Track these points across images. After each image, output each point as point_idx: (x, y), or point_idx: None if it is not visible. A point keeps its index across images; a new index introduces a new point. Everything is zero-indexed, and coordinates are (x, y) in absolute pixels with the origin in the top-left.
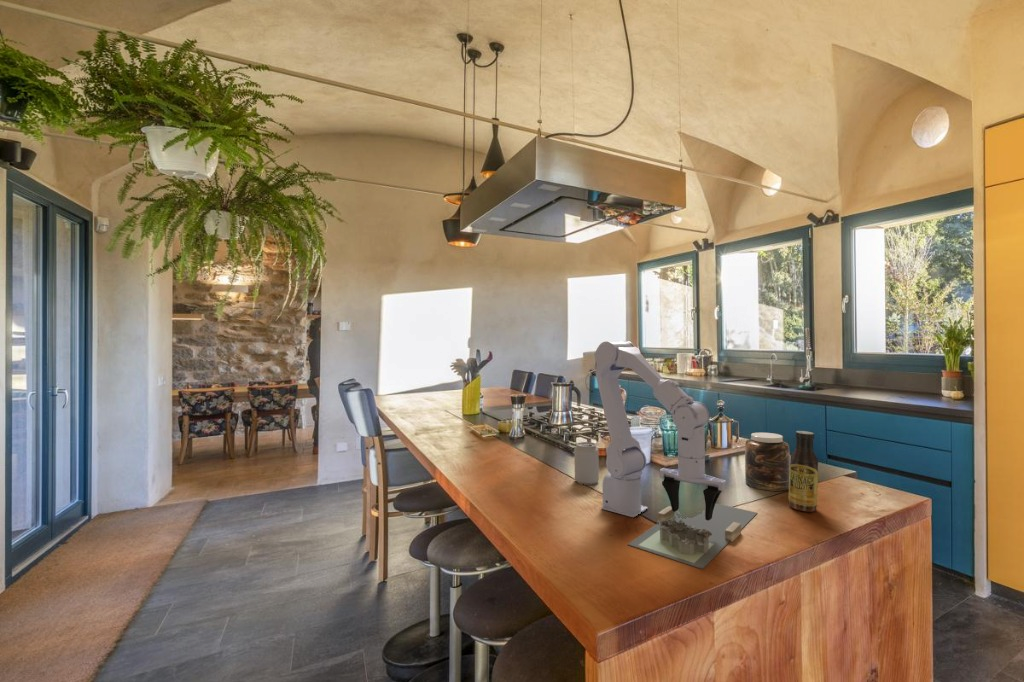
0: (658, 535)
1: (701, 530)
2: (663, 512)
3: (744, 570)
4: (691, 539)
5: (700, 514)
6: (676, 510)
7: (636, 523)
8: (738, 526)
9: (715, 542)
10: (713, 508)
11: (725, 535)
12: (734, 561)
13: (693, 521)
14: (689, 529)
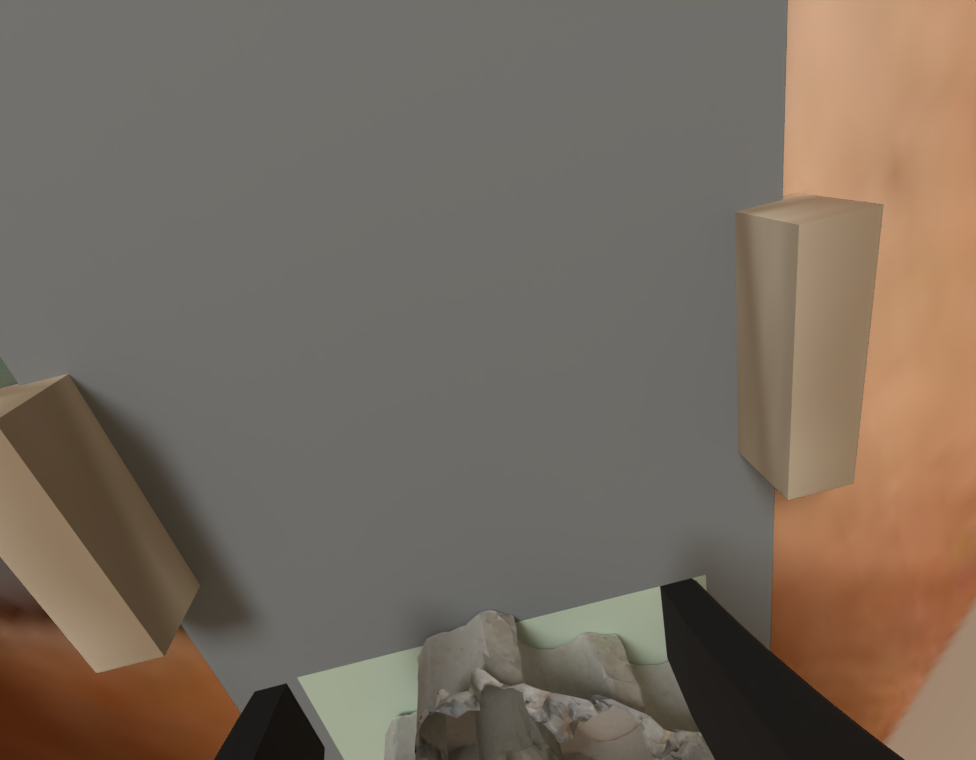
0: (375, 743)
1: (688, 731)
2: (113, 632)
3: (931, 660)
4: (567, 647)
5: (190, 58)
6: (308, 726)
7: (96, 725)
8: (867, 296)
9: (702, 548)
10: (787, 678)
11: (760, 470)
12: (868, 630)
13: (323, 349)
14: (573, 725)
